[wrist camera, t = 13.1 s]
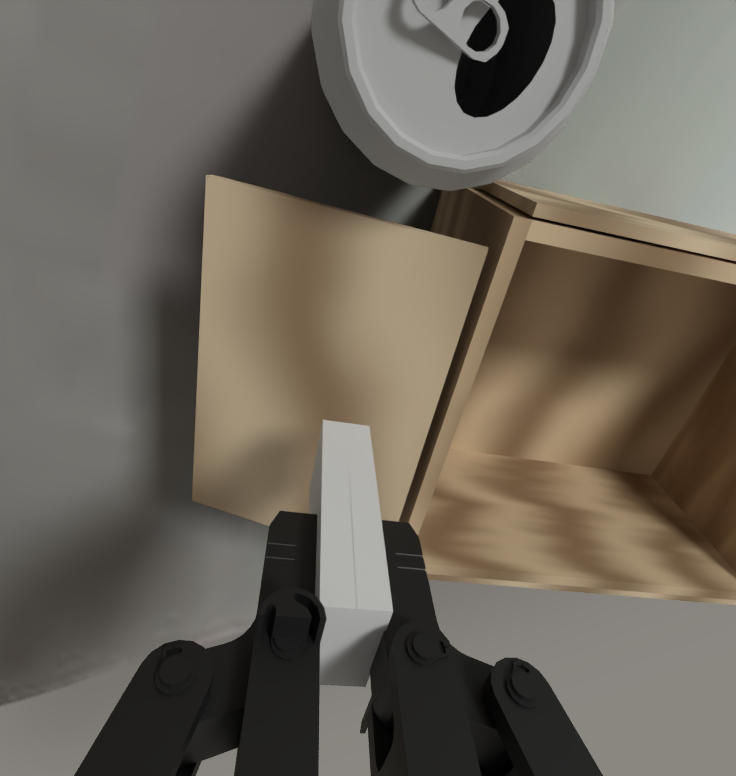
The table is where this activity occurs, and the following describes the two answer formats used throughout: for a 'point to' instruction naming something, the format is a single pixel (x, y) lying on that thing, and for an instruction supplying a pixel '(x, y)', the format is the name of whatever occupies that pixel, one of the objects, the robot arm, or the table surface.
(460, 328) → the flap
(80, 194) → the table surface
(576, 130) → the table surface
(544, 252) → the carton
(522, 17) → the can
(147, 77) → the table surface
